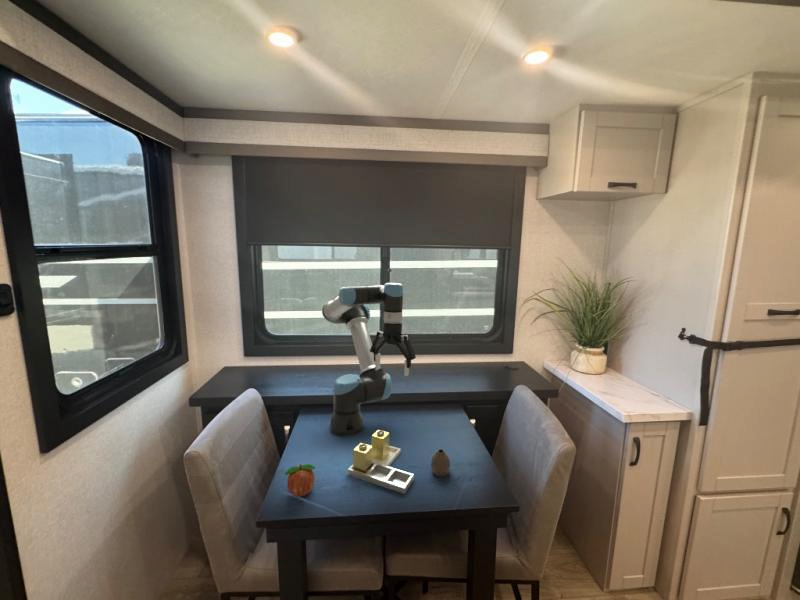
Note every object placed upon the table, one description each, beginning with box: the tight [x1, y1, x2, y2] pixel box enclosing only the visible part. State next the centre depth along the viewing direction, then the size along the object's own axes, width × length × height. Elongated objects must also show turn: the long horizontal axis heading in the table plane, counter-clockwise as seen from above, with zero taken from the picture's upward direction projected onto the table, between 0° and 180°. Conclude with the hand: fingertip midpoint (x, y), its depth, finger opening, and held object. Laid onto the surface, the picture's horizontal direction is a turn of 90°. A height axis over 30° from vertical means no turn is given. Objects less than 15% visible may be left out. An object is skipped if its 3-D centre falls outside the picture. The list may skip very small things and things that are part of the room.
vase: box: [430, 448, 451, 477], centre depth 123 cm, size 7×7×9 cm
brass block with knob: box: [352, 442, 373, 473], centre depth 123 cm, size 5×5×10 cm
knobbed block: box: [371, 429, 390, 461], centre depth 132 cm, size 5×5×10 cm
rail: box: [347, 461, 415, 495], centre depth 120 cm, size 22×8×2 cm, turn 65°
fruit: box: [284, 464, 316, 498], centre depth 112 cm, size 9×10×10 cm
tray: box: [369, 443, 402, 467], centre depth 133 cm, size 12×12×2 cm
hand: (391, 372), depth 141 cm, fingers open, 13 cm apart
